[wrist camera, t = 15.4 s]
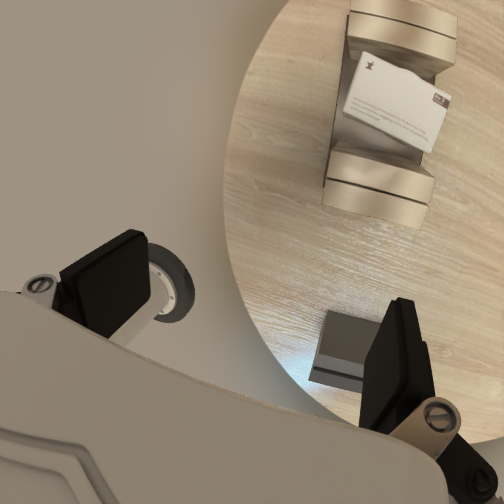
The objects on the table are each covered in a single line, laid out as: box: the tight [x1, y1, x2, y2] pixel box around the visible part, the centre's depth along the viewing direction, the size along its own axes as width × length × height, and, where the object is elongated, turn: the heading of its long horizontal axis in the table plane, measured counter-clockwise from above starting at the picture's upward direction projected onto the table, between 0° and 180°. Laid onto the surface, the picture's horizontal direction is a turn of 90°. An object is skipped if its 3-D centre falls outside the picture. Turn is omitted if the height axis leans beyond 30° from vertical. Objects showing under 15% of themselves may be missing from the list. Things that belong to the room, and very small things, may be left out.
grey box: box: [308, 310, 381, 393], centre depth 43 cm, size 10×5×11 cm, turn 83°
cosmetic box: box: [343, 51, 452, 154], centre depth 26 cm, size 8×6×15 cm
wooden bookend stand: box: [321, 0, 458, 231], centre depth 27 cm, size 12×24×13 cm, turn 173°
